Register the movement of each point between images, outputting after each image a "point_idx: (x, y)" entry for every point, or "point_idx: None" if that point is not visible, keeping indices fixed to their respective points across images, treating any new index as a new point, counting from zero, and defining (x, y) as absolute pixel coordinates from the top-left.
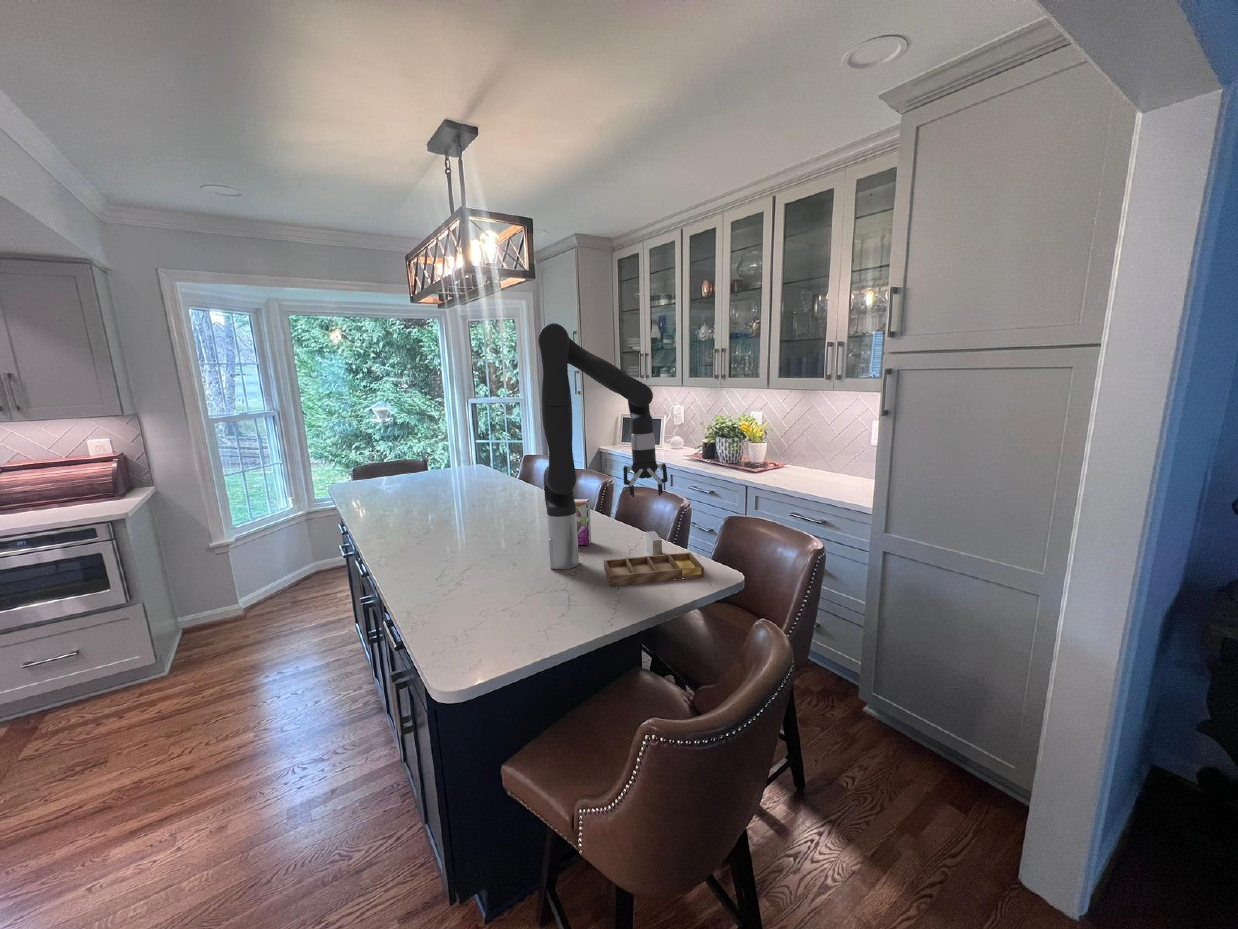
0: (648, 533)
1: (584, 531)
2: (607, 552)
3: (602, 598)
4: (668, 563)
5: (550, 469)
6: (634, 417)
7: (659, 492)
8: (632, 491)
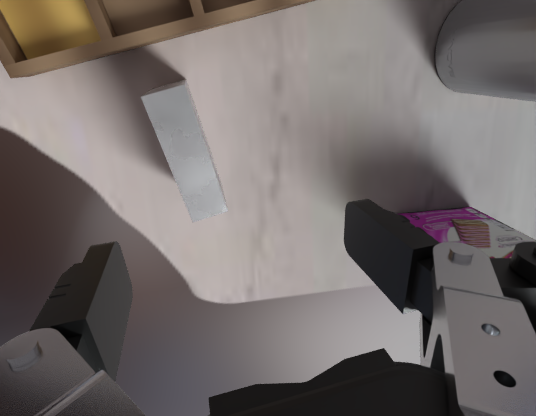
0: (216, 189)
1: (437, 233)
2: (345, 163)
3: None
4: (110, 8)
5: None
6: None
7: (96, 257)
8: (392, 220)
